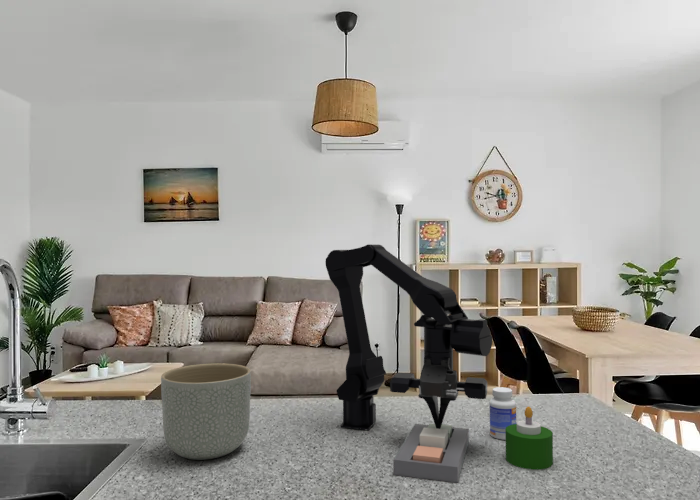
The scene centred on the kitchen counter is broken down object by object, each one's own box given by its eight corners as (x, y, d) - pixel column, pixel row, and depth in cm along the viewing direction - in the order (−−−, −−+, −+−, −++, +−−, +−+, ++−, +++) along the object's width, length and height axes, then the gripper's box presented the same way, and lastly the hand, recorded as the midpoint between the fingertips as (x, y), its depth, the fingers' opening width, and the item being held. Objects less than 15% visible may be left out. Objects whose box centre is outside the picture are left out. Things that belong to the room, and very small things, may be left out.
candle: (529, 473, 93) (529, 416, 93) (496, 457, 101) (495, 403, 101) (562, 464, 97) (562, 409, 97) (528, 449, 105) (528, 398, 105)
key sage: (425, 442, 106) (425, 430, 106) (429, 435, 110) (429, 423, 110) (449, 445, 104) (449, 432, 104) (452, 437, 108) (452, 425, 108)
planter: (266, 440, 110) (265, 366, 110) (220, 473, 94) (220, 386, 94) (196, 431, 116) (195, 361, 116) (142, 461, 100) (141, 379, 100)
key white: (419, 448, 99) (419, 435, 99) (424, 439, 104) (423, 427, 104) (444, 450, 98) (444, 437, 98) (447, 442, 102) (447, 429, 102)
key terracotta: (413, 468, 93) (412, 454, 93) (417, 458, 98) (417, 445, 98) (439, 471, 92) (439, 457, 92) (443, 461, 96) (443, 448, 96)
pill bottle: (517, 441, 109) (517, 393, 109) (490, 439, 110) (490, 392, 110) (515, 432, 114) (514, 386, 114) (488, 430, 115) (488, 385, 115)
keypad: (393, 474, 93) (393, 459, 93) (415, 436, 112) (415, 423, 112) (457, 482, 90) (457, 467, 90) (468, 441, 109) (468, 428, 109)
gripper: (383, 355, 102) (383, 436, 102) (483, 361, 96) (483, 447, 97) (396, 345, 113) (396, 419, 113) (487, 349, 107) (487, 427, 107)
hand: (438, 428), depth 107 cm, fingers closed, pressing on key sage
